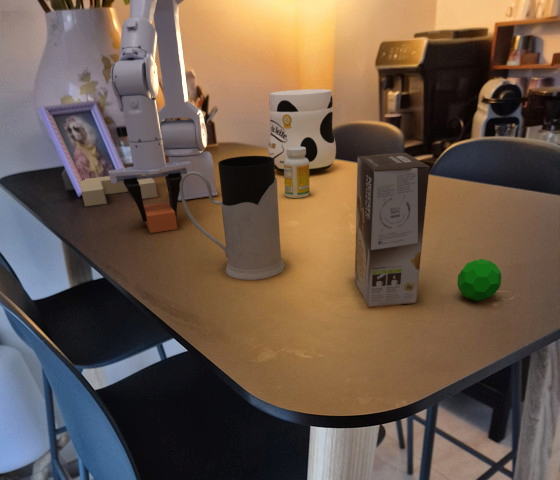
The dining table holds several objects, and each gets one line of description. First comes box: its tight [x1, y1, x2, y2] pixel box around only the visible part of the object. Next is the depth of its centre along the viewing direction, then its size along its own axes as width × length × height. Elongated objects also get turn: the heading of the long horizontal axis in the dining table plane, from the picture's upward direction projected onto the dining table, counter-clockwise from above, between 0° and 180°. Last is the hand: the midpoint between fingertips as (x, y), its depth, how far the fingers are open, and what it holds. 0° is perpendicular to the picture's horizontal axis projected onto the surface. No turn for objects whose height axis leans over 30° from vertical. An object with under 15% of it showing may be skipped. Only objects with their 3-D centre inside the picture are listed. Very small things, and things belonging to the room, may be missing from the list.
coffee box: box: [354, 152, 431, 308], centre depth 63 cm, size 9×6×16 cm
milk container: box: [267, 88, 337, 174], centre depth 129 cm, size 17×17×18 cm
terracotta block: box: [143, 201, 178, 234], centre depth 97 cm, size 5×8×3 cm, turn 20°
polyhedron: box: [456, 258, 502, 302], centre depth 62 cm, size 5×5×5 cm
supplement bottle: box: [283, 146, 310, 199], centre depth 109 cm, size 5×5×10 cm
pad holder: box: [79, 175, 158, 208], centre depth 120 cm, size 16×14×3 cm
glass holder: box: [180, 155, 285, 281], centre depth 72 cm, size 9×14×15 cm, turn 80°
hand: (159, 218), depth 97 cm, fingers closed on terracotta block, 5 cm apart
